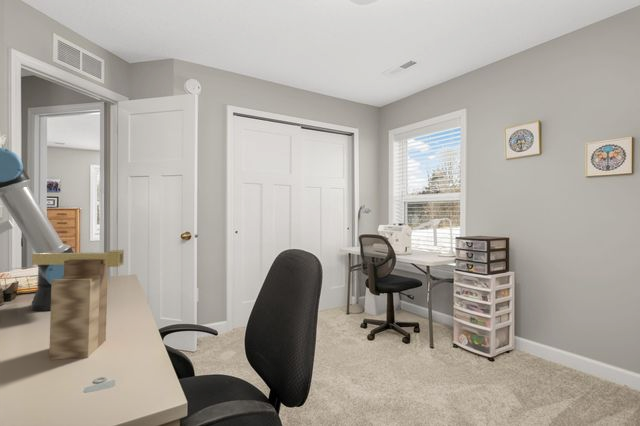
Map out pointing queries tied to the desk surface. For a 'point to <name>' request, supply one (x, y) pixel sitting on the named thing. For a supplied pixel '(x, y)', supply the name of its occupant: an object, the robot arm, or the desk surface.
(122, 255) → the golden wooden bar
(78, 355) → the hinge block
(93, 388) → the mounting bracket
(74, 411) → the desk surface
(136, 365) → the desk surface
